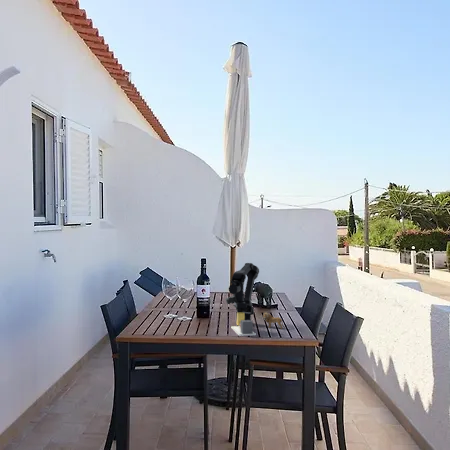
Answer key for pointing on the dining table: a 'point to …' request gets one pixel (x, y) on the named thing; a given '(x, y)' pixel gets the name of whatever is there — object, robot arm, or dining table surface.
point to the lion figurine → (272, 320)
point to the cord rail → (237, 328)
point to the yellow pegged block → (240, 317)
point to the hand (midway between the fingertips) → (238, 316)
